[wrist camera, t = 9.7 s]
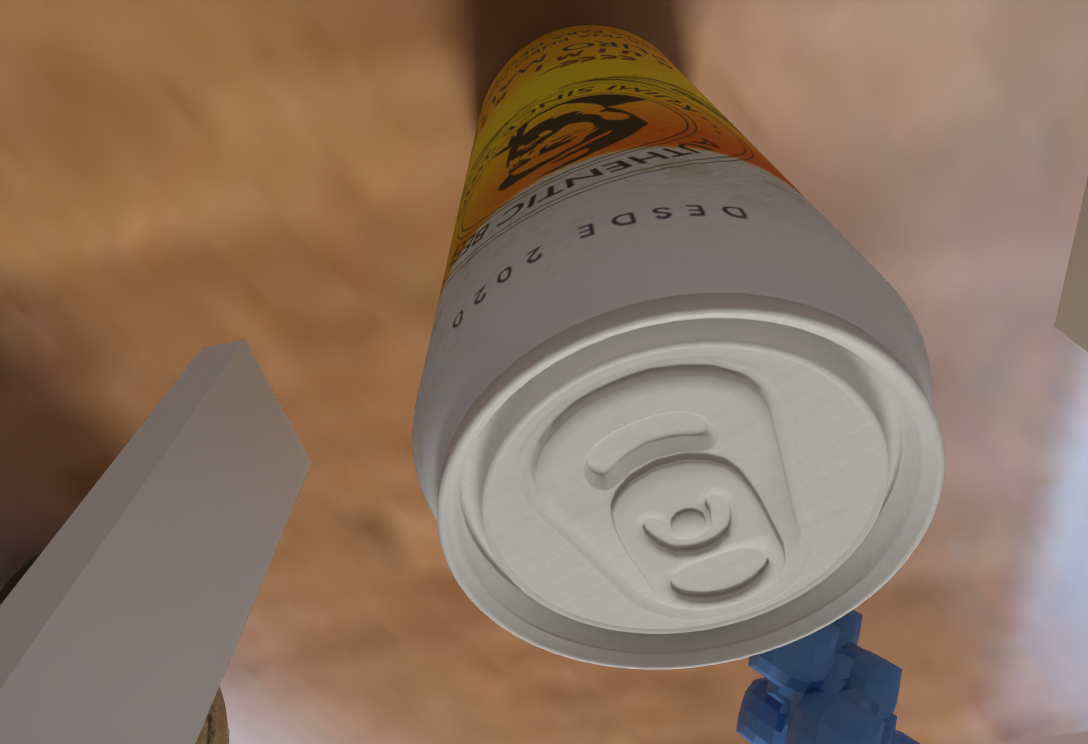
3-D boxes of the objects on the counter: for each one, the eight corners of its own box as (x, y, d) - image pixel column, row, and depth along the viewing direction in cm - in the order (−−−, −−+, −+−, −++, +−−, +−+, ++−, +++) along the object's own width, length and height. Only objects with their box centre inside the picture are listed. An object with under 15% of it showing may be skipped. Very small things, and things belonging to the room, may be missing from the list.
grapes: (637, 536, 29) (694, 859, 19) (781, 463, 27) (930, 785, 17) (758, 661, 34) (853, 964, 25) (887, 609, 32) (1047, 918, 22)
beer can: (637, -28, 17) (923, 123, 5) (719, 178, 20) (1024, 593, 8) (437, 93, 19) (269, 442, 6) (541, 268, 22) (564, 734, 9)
